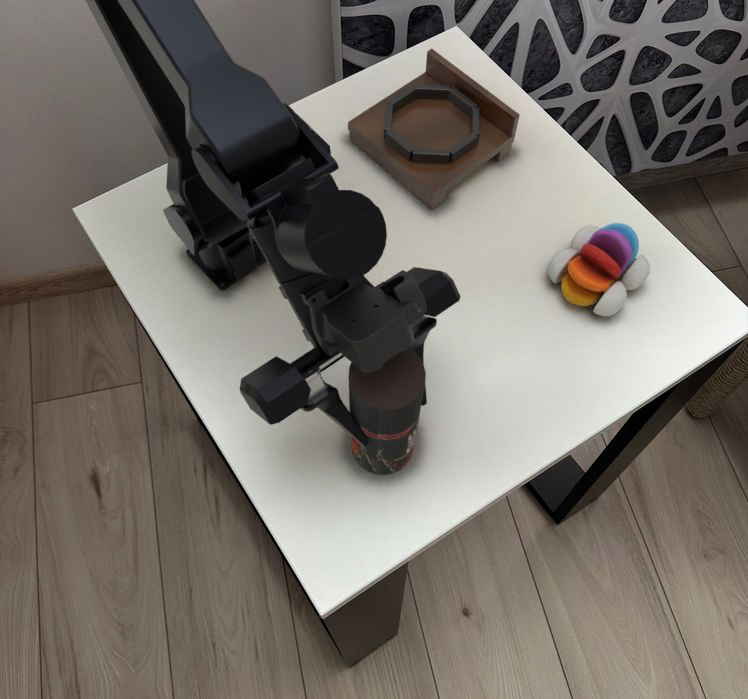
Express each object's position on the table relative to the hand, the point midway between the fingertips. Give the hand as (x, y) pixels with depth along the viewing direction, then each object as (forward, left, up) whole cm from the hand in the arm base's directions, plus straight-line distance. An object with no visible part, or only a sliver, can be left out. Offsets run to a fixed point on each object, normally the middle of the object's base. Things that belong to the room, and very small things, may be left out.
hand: (394, 424), depth 65 cm
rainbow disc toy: (0, +29, -8) cm, 30 cm away
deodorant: (-1, 0, -8) cm, 8 cm away
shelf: (-25, +29, -8) cm, 39 cm away
